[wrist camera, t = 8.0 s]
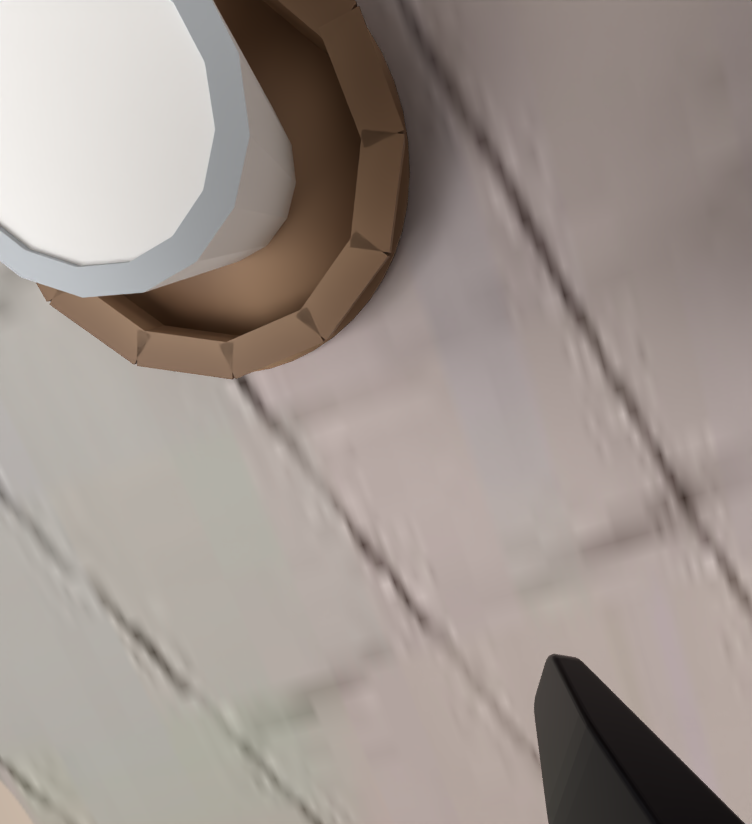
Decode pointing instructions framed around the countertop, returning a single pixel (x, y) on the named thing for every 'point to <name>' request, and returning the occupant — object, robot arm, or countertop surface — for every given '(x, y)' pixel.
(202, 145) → the white canister
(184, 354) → the round wooden tray
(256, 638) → the countertop surface
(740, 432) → the countertop surface
